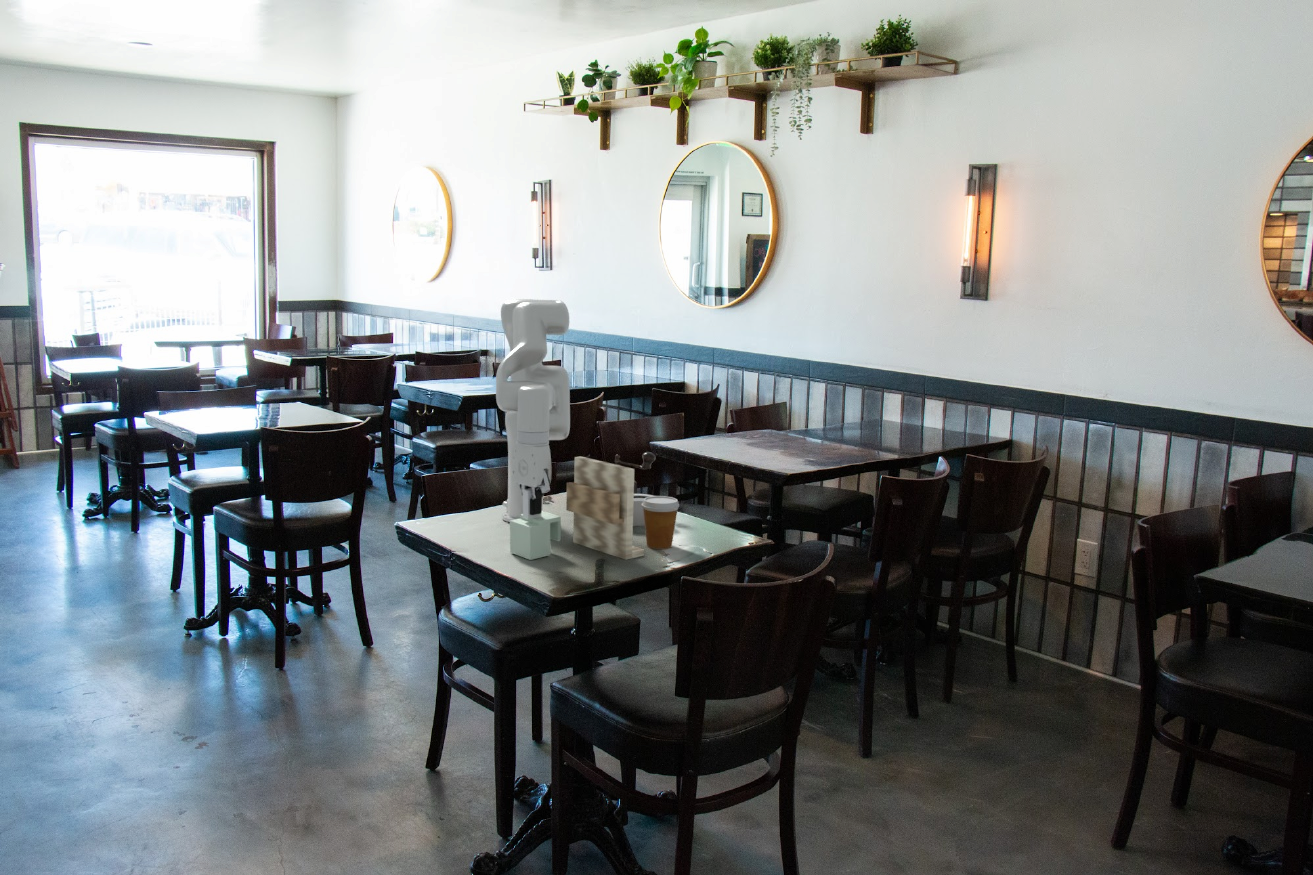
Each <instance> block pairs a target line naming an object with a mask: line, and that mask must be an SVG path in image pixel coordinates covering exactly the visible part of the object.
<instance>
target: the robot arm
mask: <svg viewBox="0 0 1313 875" xmlns="http://www.w3.org/2000/svg"><path fill="white" fill-rule="evenodd" d="M500 320H501V325H502V329H503V332H504V335H505V337H506V339H507V342H508V346H509V353H507V354H506V356H505V357H504V358H503V359H502V361H501V362H500V363H499V365H498V367H497V370H496V375H495V376H496V377H495V399H496V400H495V401H496V404H497V405H496V406H498V409H500V410H501V411H503V412H505V418H504V420H505V421H504V422H505V423H504V424H505V425H504V426H505V429H506V431H505V432H506V438H507V452H508V453H507V461H508V463H507V473H508V475H507V477H508V478H507V499H506V501H503V502H502V506H503V507H505V508H506V511H505V512H503V513H502V514H501V519H502V520H503V521H505V522H508V523H510V521H511V520H515V519H520V514H523V489H528V488H532V494H531V497H532V498H531V499H530V515H536V514H541V513H542V511H544V510H543V509H544V508H543V507H544V505H543V504H544V501H543V500H544V497H545V496H544V495H545V493H548V492H551V488H550V487H551V486H550V485H551V483H552V482H551V481H552V458H551V449H550V445H549V444H550V441H562V440H565V439H567V438H568V436H569V434H570V428H571V406H570V405H571V402H570V401H571V399H570V398H571V395H570V394H571V393H570V391H571V390H570V389H571V388H570V377H569V374H568V371H567V370H566V368H564V367H563V366H562V365H561V366H560V365H544V364H543V362H542V361H543V360H544V359H545V358H546V357H547V355H548V342H547V341H548V340H547V336H549V335H551V336H564V335H566V334H567V332H568V331H569V328H570V313H569V309H568V307H567V305H566V303H565V302H564V301H562V300H558V299H531V298H530V299H529V298H527V299H524V298H523V299H521V298H520V299H511V300H507V301H505V302H503V303H502V305H501V309H500ZM509 378H510V380H508V379H509ZM538 488H539V489H538ZM536 489H538V490H537V491H536Z"/></svg>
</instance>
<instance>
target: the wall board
mask: <svg viewBox="0 0 1313 875" xmlns="http://www.w3.org/2000/svg"><path fill="white" fill-rule="evenodd" d="M573 468H574V469H573V470H574V471H573V473H574V474H573V475H574V478H573V479H574V481H569V482H566V511H568V512H571V513H573V526H572V527H573V528H572V529H573V532H572V533H573V534H572V535H573V537H572V538H573V540H572V543H574V544H577V545H581V546H583V547H586V548H589V549H592V550H596V551H598V552H601V553H604V554H608V555H611V556H614V557H617V558H620V559H623V560H625V561H626V560H630V559H634V558H639V557H643V556H645V549H643V548H641V547H638V546H634V545H633V534H634V530H633V529H634V526H633V502H634V480H635V468H631V467H629V466H625V465H621V464H619V465H616V463H610V462H607V461H602V460H597V459H593V458H589V457H585V456H574V467H573Z"/></svg>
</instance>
